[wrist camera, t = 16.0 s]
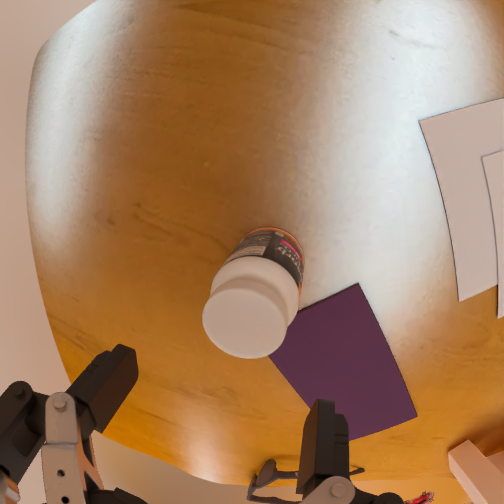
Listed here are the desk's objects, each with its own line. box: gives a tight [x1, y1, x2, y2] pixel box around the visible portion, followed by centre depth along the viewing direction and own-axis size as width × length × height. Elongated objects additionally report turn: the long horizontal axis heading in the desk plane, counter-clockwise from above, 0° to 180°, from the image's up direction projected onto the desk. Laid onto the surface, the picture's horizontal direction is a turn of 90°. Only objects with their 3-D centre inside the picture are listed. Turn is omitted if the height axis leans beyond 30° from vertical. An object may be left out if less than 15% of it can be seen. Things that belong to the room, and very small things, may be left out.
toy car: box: [404, 492, 434, 504], centre depth 36 cm, size 4×8×3 cm, turn 148°
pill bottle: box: [202, 227, 304, 359], centre depth 20 cm, size 6×6×10 cm
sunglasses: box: [247, 460, 365, 504], centre depth 36 cm, size 16×17×5 cm
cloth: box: [268, 283, 417, 441], centre depth 28 cm, size 22×11×1 cm, turn 34°
